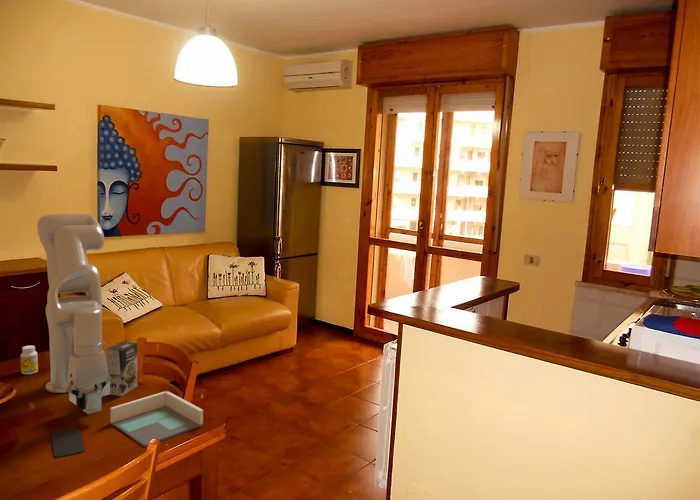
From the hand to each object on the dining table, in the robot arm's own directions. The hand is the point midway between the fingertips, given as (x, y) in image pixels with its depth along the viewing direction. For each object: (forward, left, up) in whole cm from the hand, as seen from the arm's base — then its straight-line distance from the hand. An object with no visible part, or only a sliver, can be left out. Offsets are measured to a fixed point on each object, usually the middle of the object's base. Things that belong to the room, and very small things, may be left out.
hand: (88, 405), depth 164 cm
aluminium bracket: (-3, +3, -1) cm, 4 cm away
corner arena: (+17, +13, -5) cm, 22 cm away
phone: (+10, -10, -5) cm, 15 cm away
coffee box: (-14, +18, -5) cm, 23 cm away
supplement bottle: (-52, +2, -5) cm, 53 cm away
